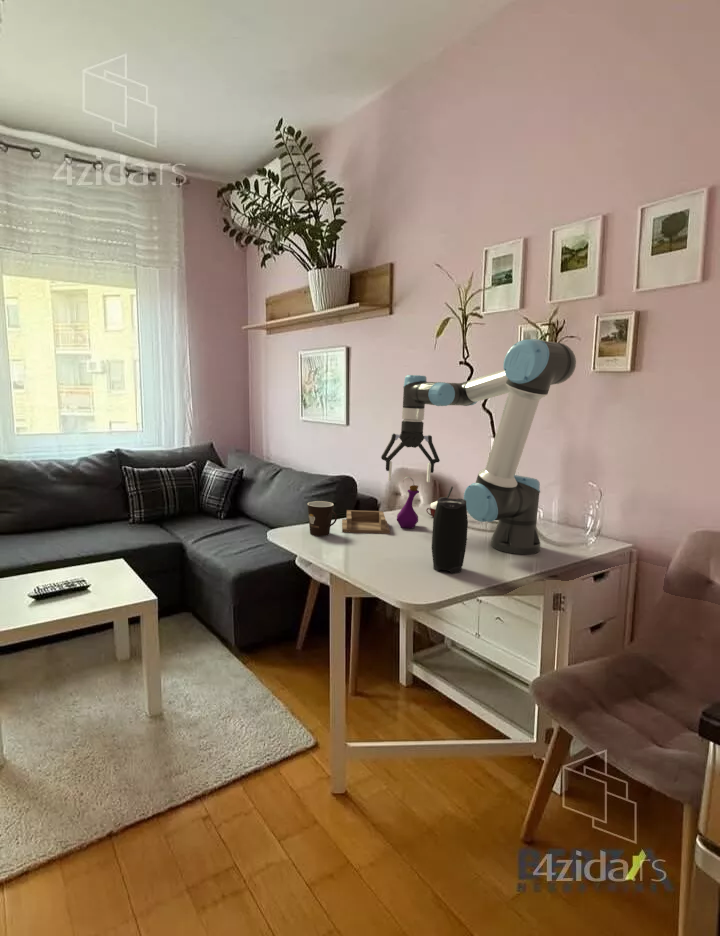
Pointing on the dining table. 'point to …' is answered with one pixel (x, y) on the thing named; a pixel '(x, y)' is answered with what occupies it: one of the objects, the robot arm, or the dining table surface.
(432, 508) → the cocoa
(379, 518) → the walnut cradle
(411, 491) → the perfume bottle
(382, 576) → the dining table surface
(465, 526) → the portable speaker
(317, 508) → the coffee mug
